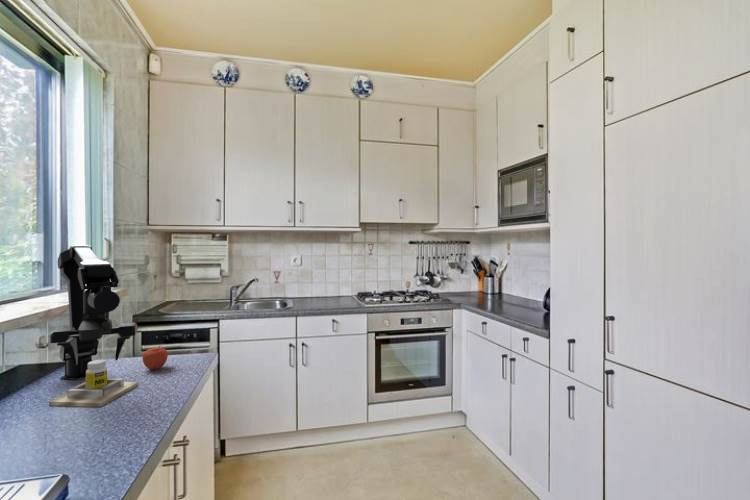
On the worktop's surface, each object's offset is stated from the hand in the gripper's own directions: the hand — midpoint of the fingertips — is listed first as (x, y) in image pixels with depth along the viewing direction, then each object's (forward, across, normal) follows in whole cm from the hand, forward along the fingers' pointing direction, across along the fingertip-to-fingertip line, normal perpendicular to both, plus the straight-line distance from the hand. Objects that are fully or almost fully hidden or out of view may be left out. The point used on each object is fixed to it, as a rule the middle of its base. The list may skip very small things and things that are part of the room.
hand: (96, 362), depth 100 cm
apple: (+10, +13, +17) cm, 23 cm away
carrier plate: (+9, 0, 0) cm, 9 cm away
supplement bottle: (+8, 0, 0) cm, 9 cm away
